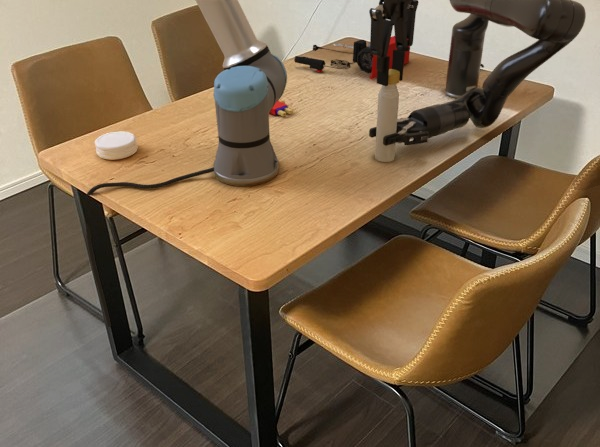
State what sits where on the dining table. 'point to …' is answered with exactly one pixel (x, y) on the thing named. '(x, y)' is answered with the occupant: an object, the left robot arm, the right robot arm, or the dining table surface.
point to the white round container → (116, 145)
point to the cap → (393, 76)
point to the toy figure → (280, 108)
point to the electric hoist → (354, 58)
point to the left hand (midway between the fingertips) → (389, 81)
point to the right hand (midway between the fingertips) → (377, 137)
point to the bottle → (386, 121)
